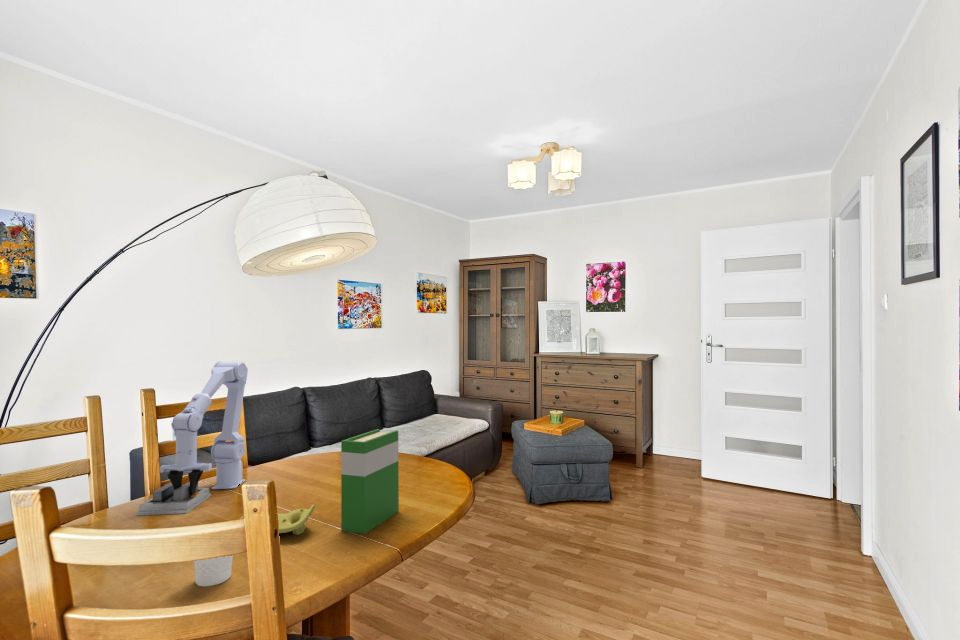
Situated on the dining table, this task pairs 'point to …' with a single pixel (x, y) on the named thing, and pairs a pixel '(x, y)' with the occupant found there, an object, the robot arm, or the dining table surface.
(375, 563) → the dining table surface
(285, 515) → the plastic component
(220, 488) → the robot arm
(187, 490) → the panel
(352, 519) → the hardback book
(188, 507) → the rack
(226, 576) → the white cup
